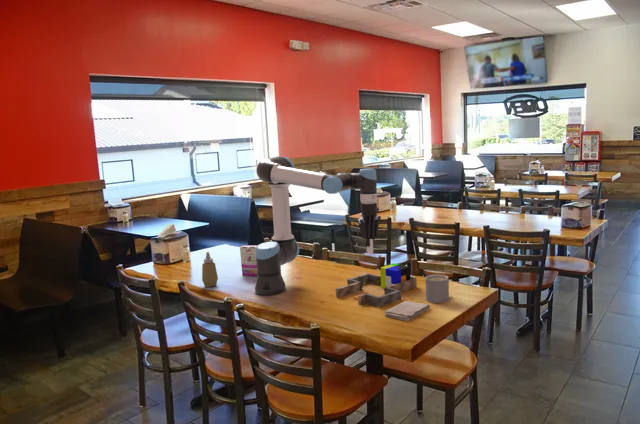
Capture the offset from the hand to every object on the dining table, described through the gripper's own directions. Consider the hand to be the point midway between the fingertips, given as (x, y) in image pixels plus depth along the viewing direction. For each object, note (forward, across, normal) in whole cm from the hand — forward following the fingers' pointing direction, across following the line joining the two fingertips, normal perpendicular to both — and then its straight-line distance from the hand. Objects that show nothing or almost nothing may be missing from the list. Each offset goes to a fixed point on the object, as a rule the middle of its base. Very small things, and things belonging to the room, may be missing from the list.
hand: (370, 252), depth 245 cm
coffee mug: (+19, +15, -28) cm, 37 cm away
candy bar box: (+21, -22, +71) cm, 77 cm away
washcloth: (+20, -8, -30) cm, 37 cm away
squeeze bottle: (+21, -48, +70) cm, 88 cm away
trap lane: (+19, +3, -1) cm, 20 cm away
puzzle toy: (+20, +15, -2) cm, 24 cm away
